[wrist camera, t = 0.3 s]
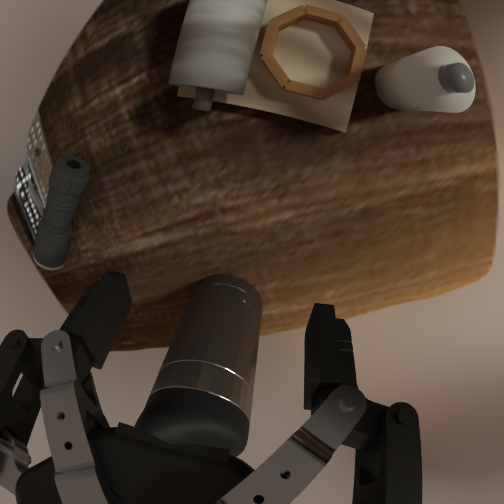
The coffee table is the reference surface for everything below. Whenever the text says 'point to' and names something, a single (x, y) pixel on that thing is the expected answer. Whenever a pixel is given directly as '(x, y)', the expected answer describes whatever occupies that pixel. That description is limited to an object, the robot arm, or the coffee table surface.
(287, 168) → the coffee table surface
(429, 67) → the white capped bottle
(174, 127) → the coffee table surface
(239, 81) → the motor mount
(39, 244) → the flashlight
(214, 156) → the coffee table surface
